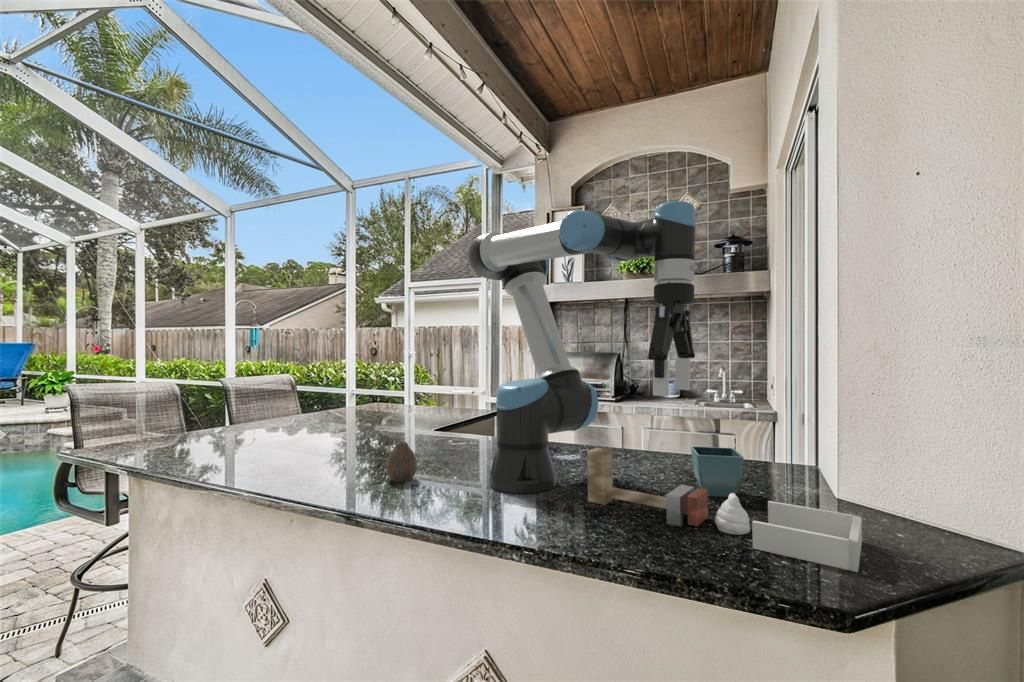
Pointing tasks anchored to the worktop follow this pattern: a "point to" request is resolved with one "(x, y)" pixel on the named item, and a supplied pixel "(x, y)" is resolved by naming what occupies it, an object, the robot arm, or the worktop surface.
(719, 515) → the whipped cream swirl
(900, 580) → the worktop surface
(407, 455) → the brown egg shape
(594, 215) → the robot arm
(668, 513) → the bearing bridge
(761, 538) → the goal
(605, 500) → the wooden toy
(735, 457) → the flower pot
